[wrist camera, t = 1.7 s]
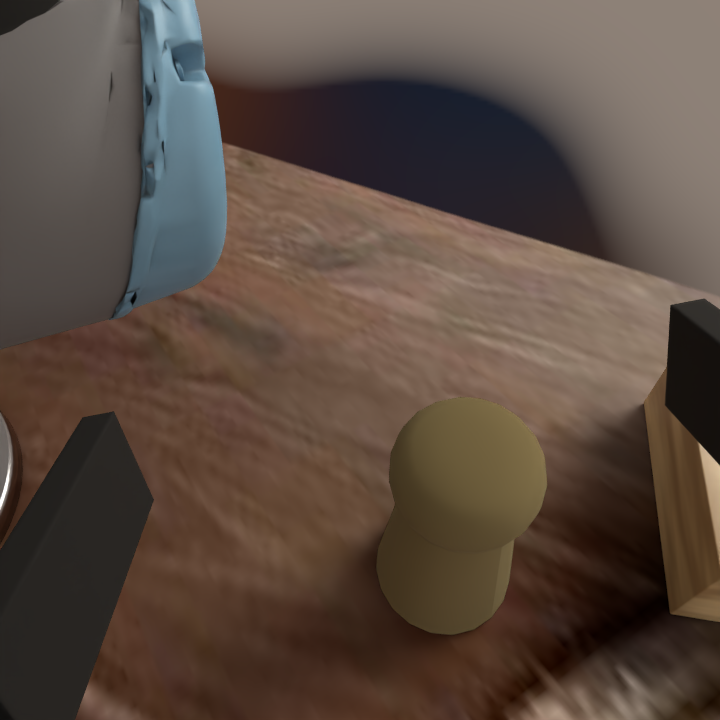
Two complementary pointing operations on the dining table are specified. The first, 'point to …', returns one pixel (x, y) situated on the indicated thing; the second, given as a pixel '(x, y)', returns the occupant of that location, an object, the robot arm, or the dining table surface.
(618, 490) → the dining table surface
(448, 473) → the olive green peg figure
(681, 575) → the riser block
